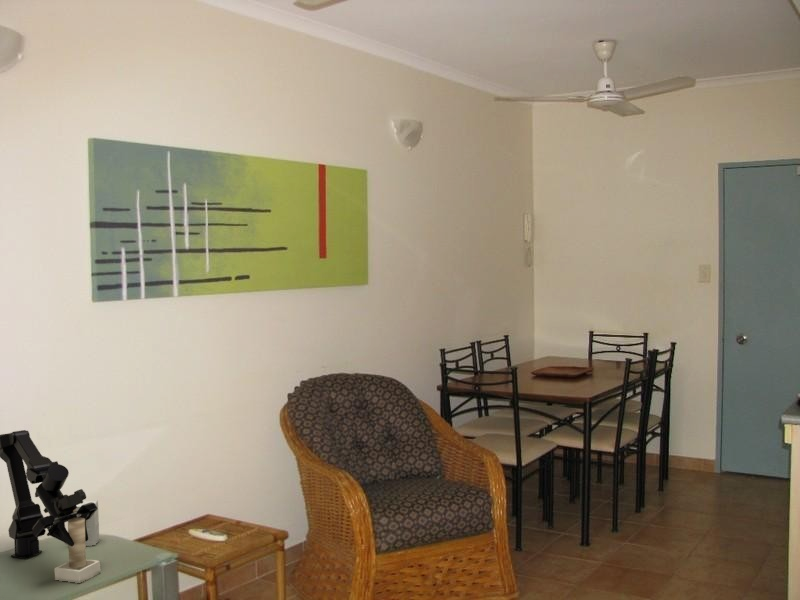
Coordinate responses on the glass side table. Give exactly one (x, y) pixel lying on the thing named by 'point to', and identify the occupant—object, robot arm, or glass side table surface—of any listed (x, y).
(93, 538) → the small box
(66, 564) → the white square tray
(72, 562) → the tan rounded rod
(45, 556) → the glass side table surface
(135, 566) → the glass side table surface
